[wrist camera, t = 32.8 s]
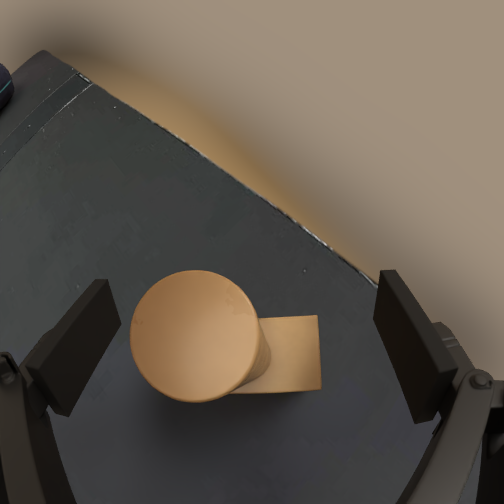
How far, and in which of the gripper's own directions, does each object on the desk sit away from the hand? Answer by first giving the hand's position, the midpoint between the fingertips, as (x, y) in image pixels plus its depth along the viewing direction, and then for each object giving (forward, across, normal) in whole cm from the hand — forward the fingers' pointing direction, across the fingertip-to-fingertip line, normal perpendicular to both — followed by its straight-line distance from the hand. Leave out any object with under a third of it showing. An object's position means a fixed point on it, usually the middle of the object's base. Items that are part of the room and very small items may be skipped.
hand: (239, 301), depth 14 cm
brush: (+4, 0, -7) cm, 8 cm away
